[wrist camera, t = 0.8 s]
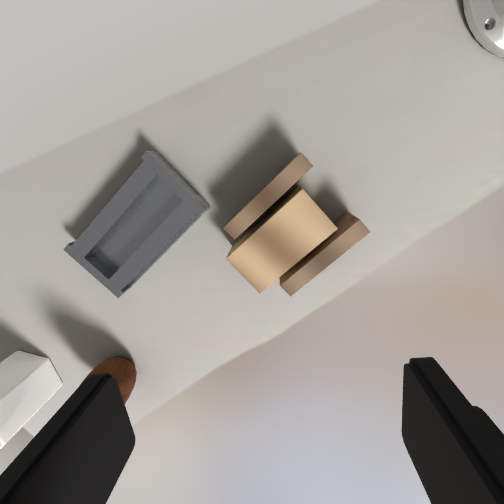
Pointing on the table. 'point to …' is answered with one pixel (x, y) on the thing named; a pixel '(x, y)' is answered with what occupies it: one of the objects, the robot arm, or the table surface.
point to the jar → (24, 390)
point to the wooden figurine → (118, 374)
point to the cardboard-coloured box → (280, 239)
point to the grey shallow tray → (138, 224)
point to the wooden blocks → (320, 255)
